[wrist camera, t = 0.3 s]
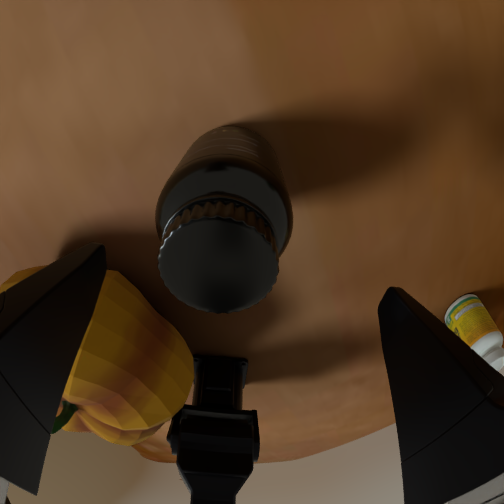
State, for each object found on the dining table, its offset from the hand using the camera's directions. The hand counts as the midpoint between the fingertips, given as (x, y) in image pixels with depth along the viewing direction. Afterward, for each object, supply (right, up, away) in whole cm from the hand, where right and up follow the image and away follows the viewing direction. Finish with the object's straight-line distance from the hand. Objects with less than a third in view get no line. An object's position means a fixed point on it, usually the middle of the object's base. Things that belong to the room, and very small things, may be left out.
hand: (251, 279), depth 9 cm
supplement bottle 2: (+26, -6, +22) cm, 34 cm away
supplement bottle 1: (-1, +7, +13) cm, 15 cm away
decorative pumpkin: (-16, -6, +22) cm, 28 cm away
